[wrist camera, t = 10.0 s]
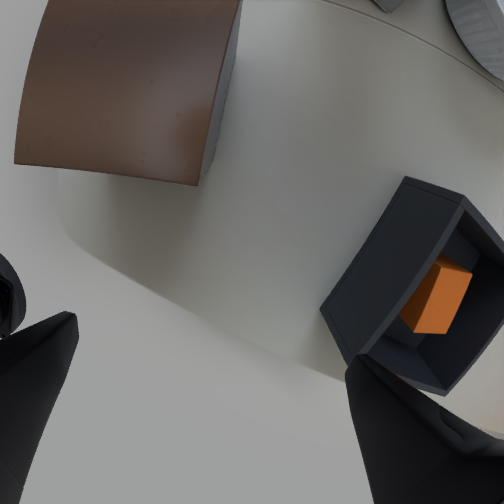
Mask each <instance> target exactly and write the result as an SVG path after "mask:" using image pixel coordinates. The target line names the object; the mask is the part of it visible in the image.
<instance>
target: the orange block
mask: <svg viewBox="0 0 504 504" xmlns="http://www.w3.org/2000/svg"><path fill="white" fill-rule="evenodd" d="M472 275H473V274H472V273H470V272H469V271H468V270H466V269H465V268H463V267H462V266H460V265H459V264H458V263H456V262H455V261H453V260H452V259H450V258H449V257H447V256H446V255H444V254H442V253H440V254H439V255H438V257H437V258H436V260H435V261H434V263H433V265H432V266H431V268H430V269H429V271H428V272H427V274H426V275H425V277H424V278H423V280H422V281H421V283H420V284H419V285H418V287H417V288H416V290H415V291H414V293H413V294H412V295H411V297H410V298H409V300H408V301H407V302H406V304H405V305H404V306H403V308H402V309H401V311H400V312H399V313H398V315H399V316H400V317H401V318H402V320H403V321H404V322H405V323H406V324H407V326H408V327H409V328H410V329H411V330H412V332H414V333H435V334H446V332H447V330H448V328H449V326H450V324H451V322H452V320H453V318H454V316H455V314H456V312H457V310H458V308H459V305H460V303H461V301H462V299H463V296H464V294H465V292H466V290H467V287H468V285H469V282H470V280H471V277H472Z"/></svg>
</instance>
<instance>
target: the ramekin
mask: <svg viewBox="0 0 504 504" xmlns="http://www.w3.org/2000/svg"><path fill="white" fill-rule="evenodd" d="M445 2H446V6H447V10H448V13H449V16H450V18H451V21H452V23H453V25H454V27H455V29H456V31H457V33H458V35H459V37H460V39H461V40H462V42H463V43H464V45H465V46H466V48H467V49H468V50H469V52H470V53H471V54H472V56H473V57H474V58H475V59H476V60H477V61H478V62H479V63H480V64H481V65H482V66H483V67H484V68H485V69H486V70H488V71H489V72H490V73H491V74H493V75H494V76H495V77H497V78H499V79H501V80H503V81H504V0H445Z"/></svg>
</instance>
